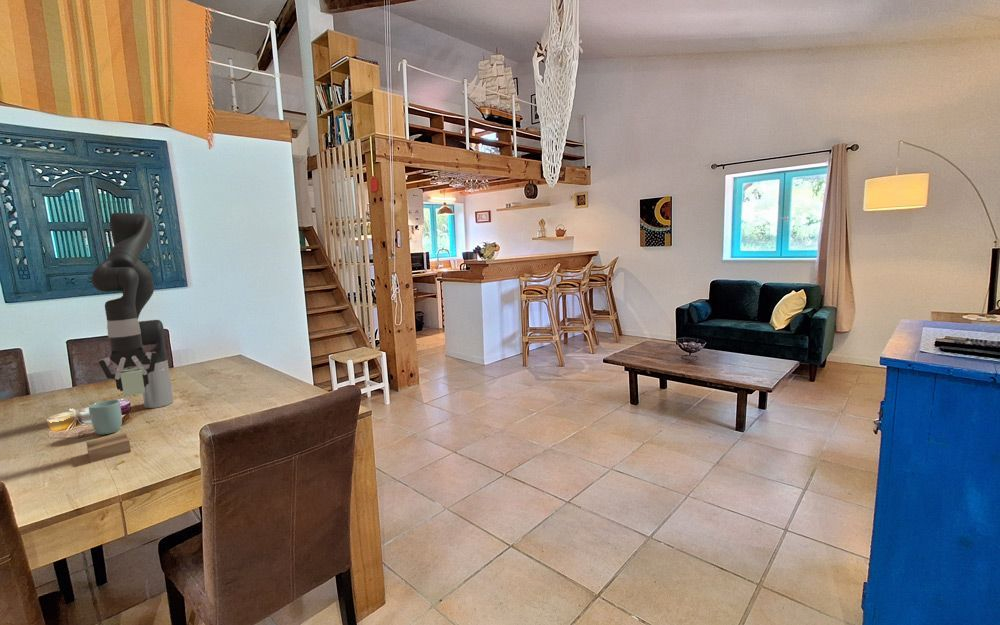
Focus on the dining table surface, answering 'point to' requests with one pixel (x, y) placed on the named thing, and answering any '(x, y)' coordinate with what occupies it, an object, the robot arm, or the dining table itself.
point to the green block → (132, 382)
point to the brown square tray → (108, 447)
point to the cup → (106, 416)
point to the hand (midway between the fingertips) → (133, 388)
